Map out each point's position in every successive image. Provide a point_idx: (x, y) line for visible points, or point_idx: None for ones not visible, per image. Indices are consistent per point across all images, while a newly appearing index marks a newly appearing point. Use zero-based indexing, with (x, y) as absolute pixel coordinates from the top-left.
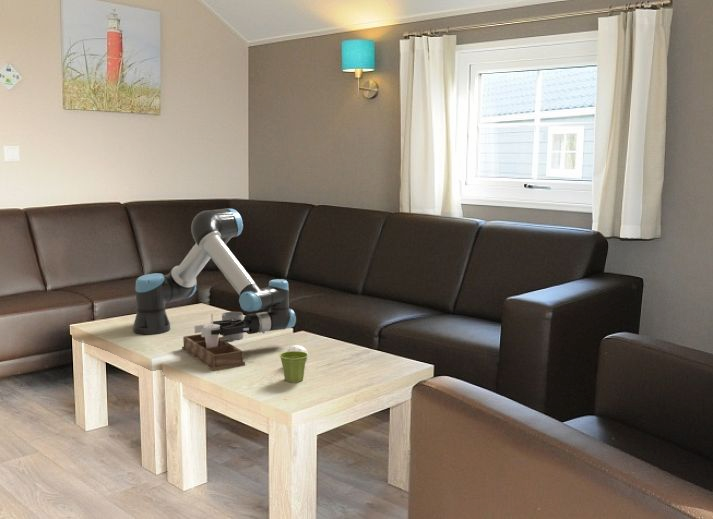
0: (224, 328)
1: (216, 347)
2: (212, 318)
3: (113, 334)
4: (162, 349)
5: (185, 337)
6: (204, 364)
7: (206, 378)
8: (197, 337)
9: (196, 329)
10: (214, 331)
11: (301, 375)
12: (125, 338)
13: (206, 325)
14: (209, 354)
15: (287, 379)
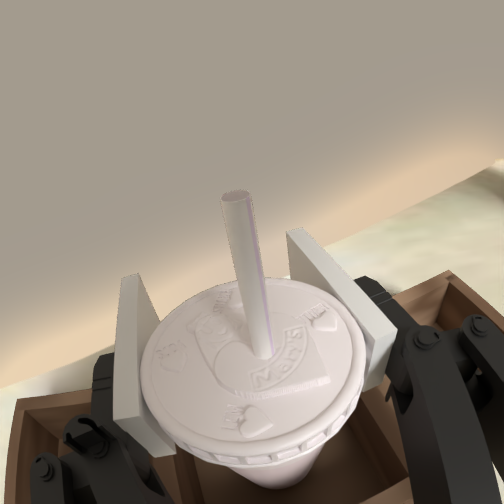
0: (42, 463)
1: (153, 458)
2: (239, 274)
3: (497, 183)
4: (418, 262)
5: (435, 279)
6: None
7: (9, 389)
8: None
9: (293, 265)
10: (96, 381)
11: None
12: (484, 195)
13: (306, 300)
14: (62, 397)
15: None
